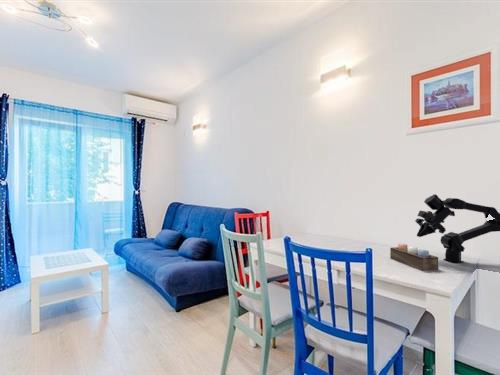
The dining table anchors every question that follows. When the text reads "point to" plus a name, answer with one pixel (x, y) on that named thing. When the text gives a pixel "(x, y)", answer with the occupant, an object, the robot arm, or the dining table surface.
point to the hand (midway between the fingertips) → (418, 236)
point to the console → (414, 259)
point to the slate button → (423, 253)
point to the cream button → (412, 250)
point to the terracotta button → (402, 246)
